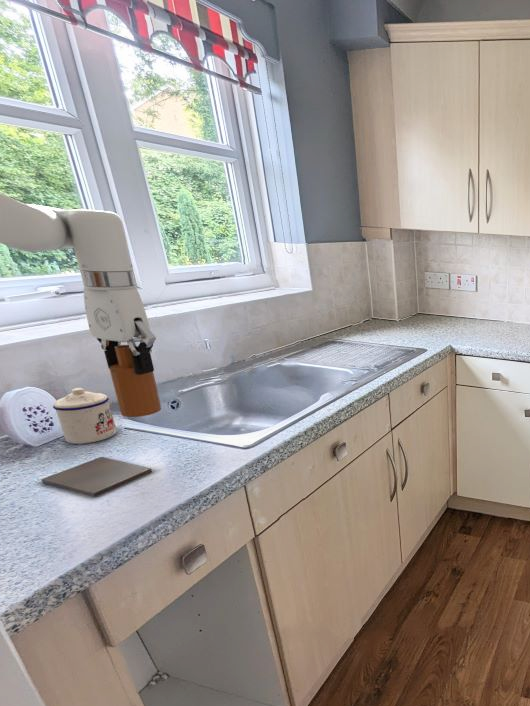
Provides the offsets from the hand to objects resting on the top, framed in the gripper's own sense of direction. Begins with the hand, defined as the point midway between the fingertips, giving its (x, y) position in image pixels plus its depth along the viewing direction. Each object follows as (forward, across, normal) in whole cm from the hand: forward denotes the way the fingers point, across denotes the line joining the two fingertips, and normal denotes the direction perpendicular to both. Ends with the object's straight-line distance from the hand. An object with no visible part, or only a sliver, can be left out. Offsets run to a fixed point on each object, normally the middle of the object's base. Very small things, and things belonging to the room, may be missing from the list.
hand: (131, 369), depth 92 cm
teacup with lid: (+20, -22, +3) cm, 29 cm away
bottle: (+9, 0, 0) cm, 9 cm away
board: (+19, 0, -10) cm, 22 cm away
